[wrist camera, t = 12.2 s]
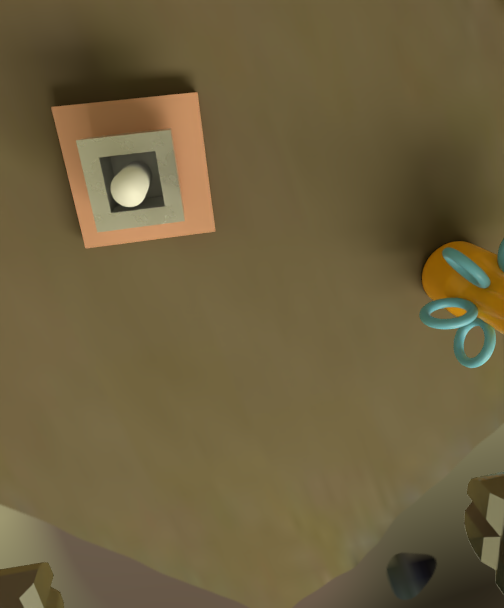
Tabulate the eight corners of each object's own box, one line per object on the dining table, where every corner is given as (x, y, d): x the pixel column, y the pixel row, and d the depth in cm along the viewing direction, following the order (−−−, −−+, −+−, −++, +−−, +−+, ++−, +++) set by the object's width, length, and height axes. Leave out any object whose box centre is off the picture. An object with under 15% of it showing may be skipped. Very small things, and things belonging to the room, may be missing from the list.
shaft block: (196, 93, 34) (202, 85, 25) (214, 227, 38) (224, 260, 29) (56, 107, 33) (12, 104, 24) (88, 243, 37) (61, 282, 28)
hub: (171, 127, 32) (170, 129, 28) (183, 208, 35) (184, 221, 30) (89, 137, 32) (75, 140, 28) (107, 218, 34) (97, 232, 30)
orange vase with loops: (396, 340, 45) (493, 441, 31) (379, 239, 41) (482, 303, 27) (515, 302, 45) (664, 384, 31) (510, 197, 41) (679, 239, 27)
